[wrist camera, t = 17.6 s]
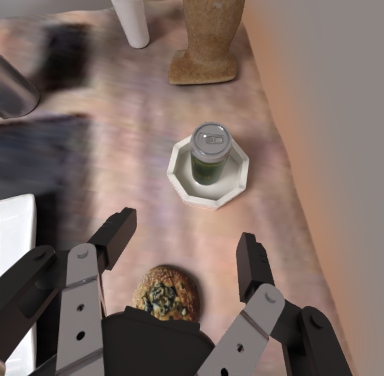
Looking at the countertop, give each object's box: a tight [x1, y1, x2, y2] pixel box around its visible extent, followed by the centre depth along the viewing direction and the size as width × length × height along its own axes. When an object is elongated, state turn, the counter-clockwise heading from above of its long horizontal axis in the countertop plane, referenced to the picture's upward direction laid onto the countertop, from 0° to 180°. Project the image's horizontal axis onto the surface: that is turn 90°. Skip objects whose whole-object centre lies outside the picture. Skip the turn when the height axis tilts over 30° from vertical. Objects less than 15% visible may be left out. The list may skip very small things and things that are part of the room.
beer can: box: [190, 122, 232, 186], centre depth 27 cm, size 5×5×12 cm
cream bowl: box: [167, 135, 249, 211], centre depth 31 cm, size 13×13×4 cm
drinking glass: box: [111, 0, 150, 48], centre depth 36 cm, size 7×7×15 cm
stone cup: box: [169, 0, 245, 84], centre depth 33 cm, size 15×12×15 cm
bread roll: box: [132, 267, 200, 323], centre depth 26 cm, size 11×11×5 cm
